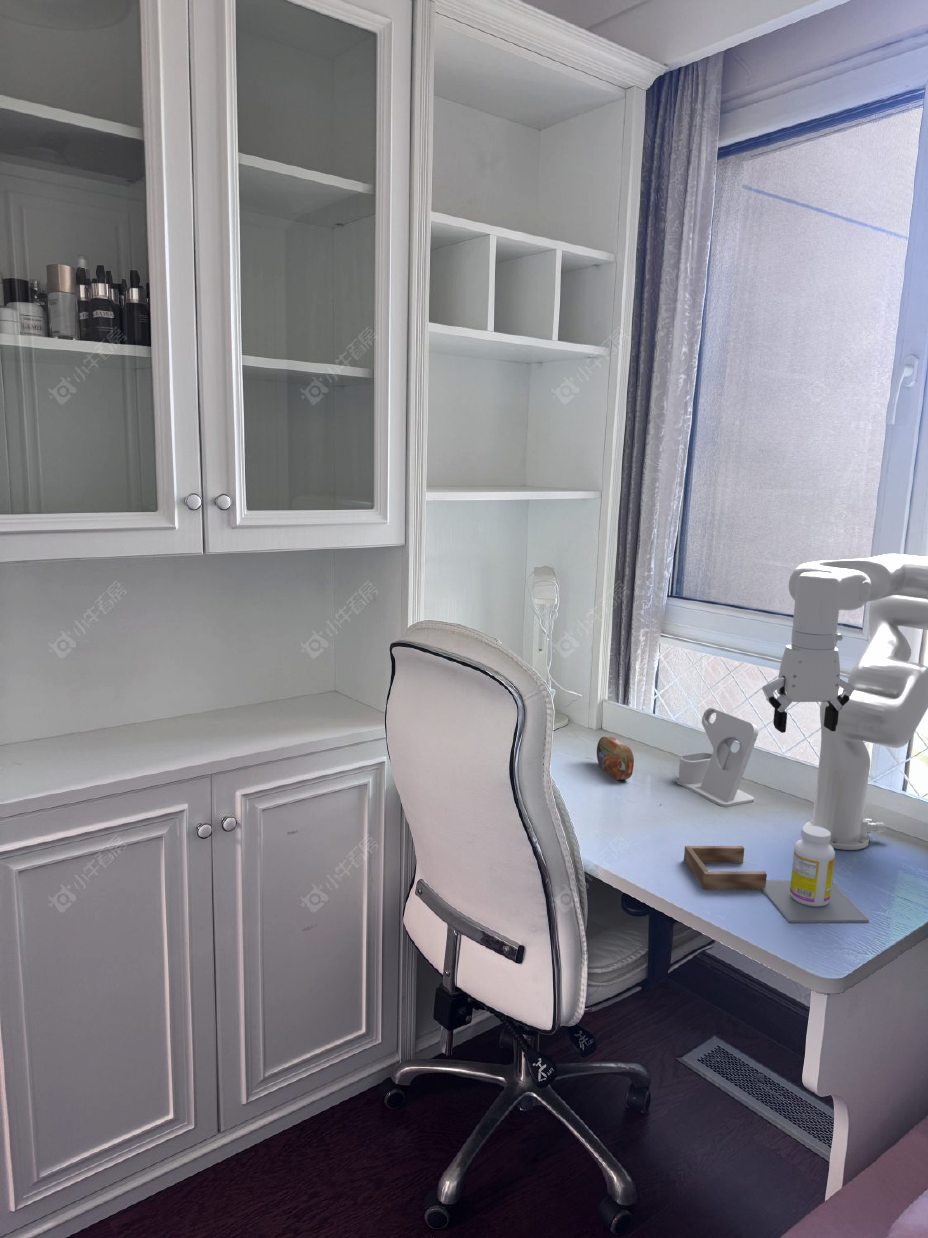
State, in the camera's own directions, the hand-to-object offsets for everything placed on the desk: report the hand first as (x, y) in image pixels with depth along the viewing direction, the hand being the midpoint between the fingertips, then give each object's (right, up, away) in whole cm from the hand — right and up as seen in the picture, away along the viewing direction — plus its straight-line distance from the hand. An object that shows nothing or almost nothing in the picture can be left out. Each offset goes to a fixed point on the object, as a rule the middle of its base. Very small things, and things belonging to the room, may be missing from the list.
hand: (804, 729), depth 160 cm
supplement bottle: (-2, -29, -8) cm, 30 cm away
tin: (-27, -18, +51) cm, 60 cm away
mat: (-2, -29, -8) cm, 31 cm away
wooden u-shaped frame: (-15, -27, +1) cm, 31 cm away
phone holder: (-5, -20, +43) cm, 47 cm away
